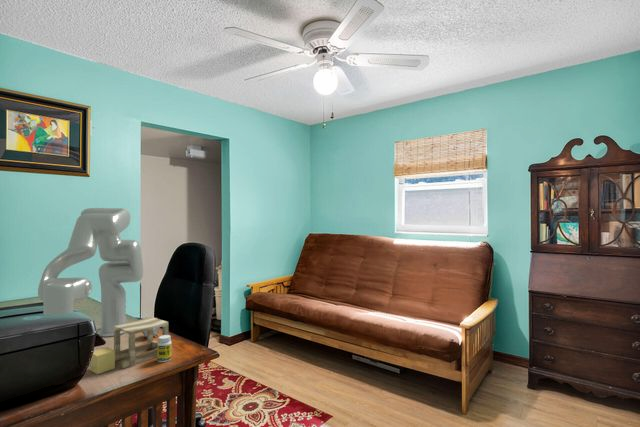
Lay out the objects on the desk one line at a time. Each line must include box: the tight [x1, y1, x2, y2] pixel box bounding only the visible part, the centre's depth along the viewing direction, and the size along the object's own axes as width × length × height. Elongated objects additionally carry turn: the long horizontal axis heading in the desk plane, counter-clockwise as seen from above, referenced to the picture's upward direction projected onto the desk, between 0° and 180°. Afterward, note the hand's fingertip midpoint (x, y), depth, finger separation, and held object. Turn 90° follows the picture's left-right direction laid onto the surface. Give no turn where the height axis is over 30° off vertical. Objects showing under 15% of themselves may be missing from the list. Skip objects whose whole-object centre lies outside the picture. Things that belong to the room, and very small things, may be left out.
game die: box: [141, 316, 161, 340], centre depth 149 cm, size 9×8×10 cm
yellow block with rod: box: [87, 347, 116, 375], centre depth 113 cm, size 6×17×7 cm, turn 146°
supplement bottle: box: [156, 334, 173, 363], centre depth 125 cm, size 5×5×8 cm
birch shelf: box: [113, 316, 169, 370], centre depth 127 cm, size 12×16×12 cm
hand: (58, 381), depth 107 cm, fingers closed on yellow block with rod, 3 cm apart
